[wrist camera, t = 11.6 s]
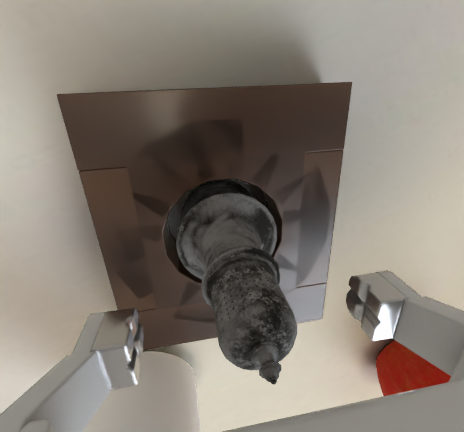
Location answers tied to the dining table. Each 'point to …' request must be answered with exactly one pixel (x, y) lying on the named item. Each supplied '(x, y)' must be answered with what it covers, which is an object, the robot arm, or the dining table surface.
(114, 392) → the cup
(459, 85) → the dining table surface
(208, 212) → the grey chess piece
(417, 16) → the dining table surface
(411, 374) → the apple
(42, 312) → the dining table surface
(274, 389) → the dining table surface
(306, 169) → the base pad
